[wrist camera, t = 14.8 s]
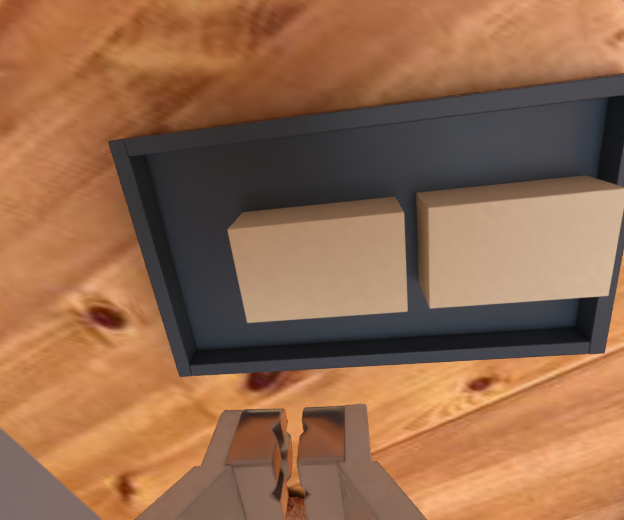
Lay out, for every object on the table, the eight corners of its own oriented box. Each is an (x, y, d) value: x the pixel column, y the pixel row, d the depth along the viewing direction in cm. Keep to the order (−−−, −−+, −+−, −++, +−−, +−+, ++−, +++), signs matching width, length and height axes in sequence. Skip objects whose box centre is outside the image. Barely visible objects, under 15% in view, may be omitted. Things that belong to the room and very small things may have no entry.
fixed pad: (415, 192, 20) (427, 207, 17) (586, 174, 19) (628, 187, 16) (418, 282, 22) (429, 309, 19) (573, 269, 21) (609, 296, 18)
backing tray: (191, 355, 25) (179, 377, 23) (129, 137, 20) (107, 141, 18) (582, 331, 23) (604, 353, 21) (622, 73, 18) (657, 70, 16)
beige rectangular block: (242, 211, 21) (226, 229, 18) (395, 196, 20) (404, 211, 17) (258, 295, 23) (246, 323, 20) (399, 284, 22) (408, 312, 19)
